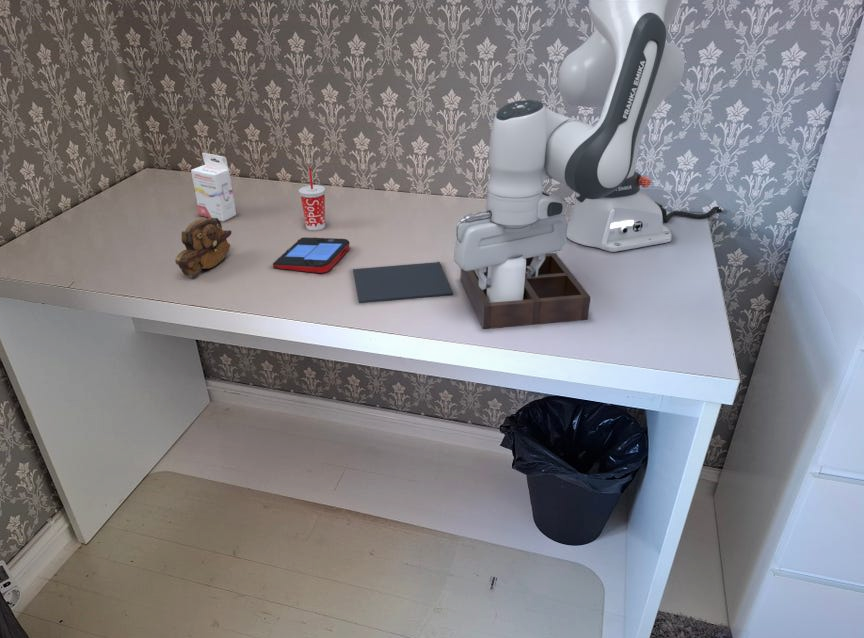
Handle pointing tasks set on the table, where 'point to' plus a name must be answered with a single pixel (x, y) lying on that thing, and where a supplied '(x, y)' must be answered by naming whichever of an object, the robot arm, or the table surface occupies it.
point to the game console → (313, 255)
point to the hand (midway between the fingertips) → (508, 282)
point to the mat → (401, 282)
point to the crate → (532, 298)
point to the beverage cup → (313, 205)
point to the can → (507, 280)
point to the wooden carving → (203, 245)
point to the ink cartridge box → (214, 188)
